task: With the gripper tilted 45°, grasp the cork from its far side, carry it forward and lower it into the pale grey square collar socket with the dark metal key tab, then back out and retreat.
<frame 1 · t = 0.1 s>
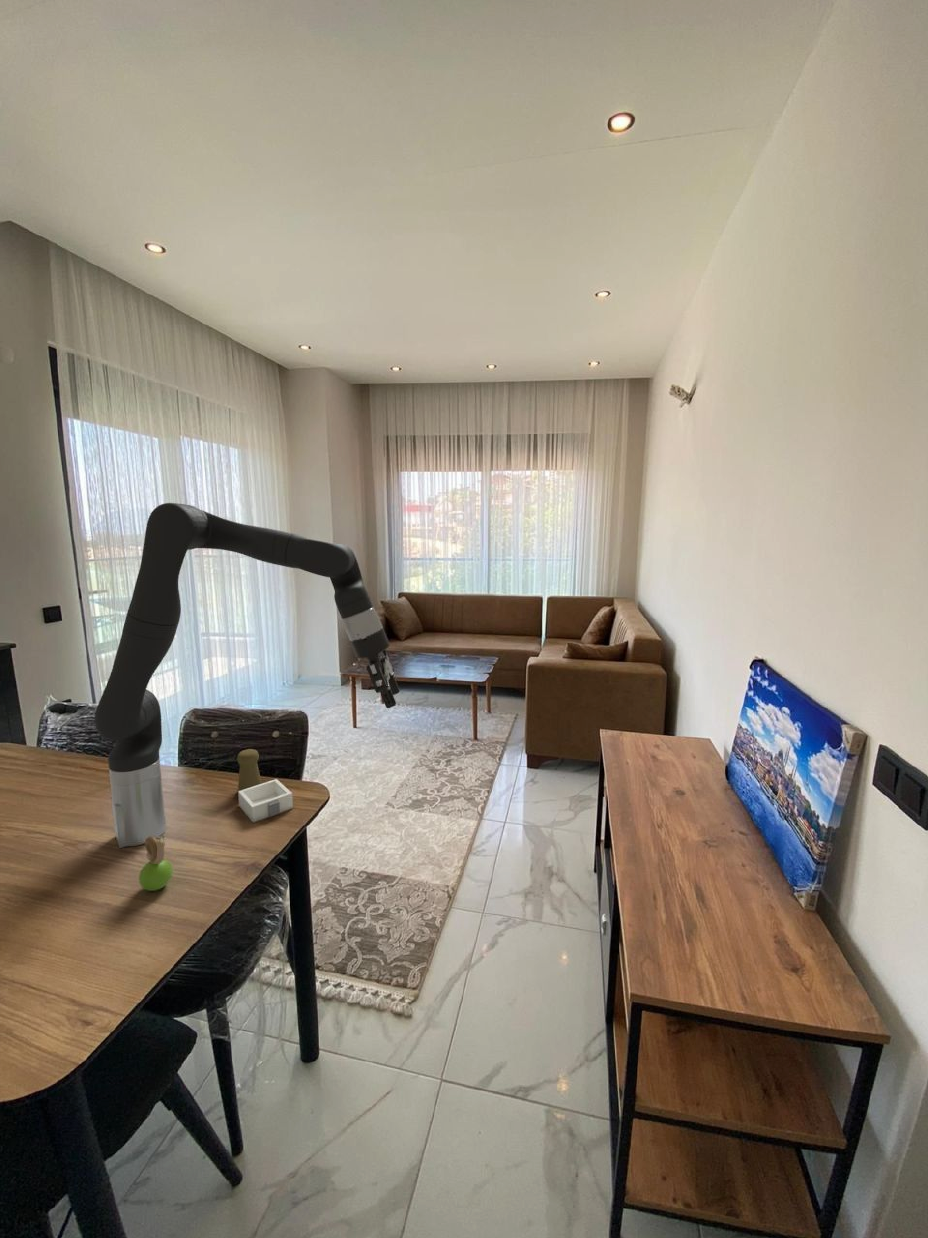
hand: (393, 700, 107), 31 cm above the table, tool tilted 20°, fingers open, 8 cm apart
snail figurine: (158, 889, 93), on the table
cork: (250, 791, 129), on the table
collar socket: (265, 807, 121), on the table
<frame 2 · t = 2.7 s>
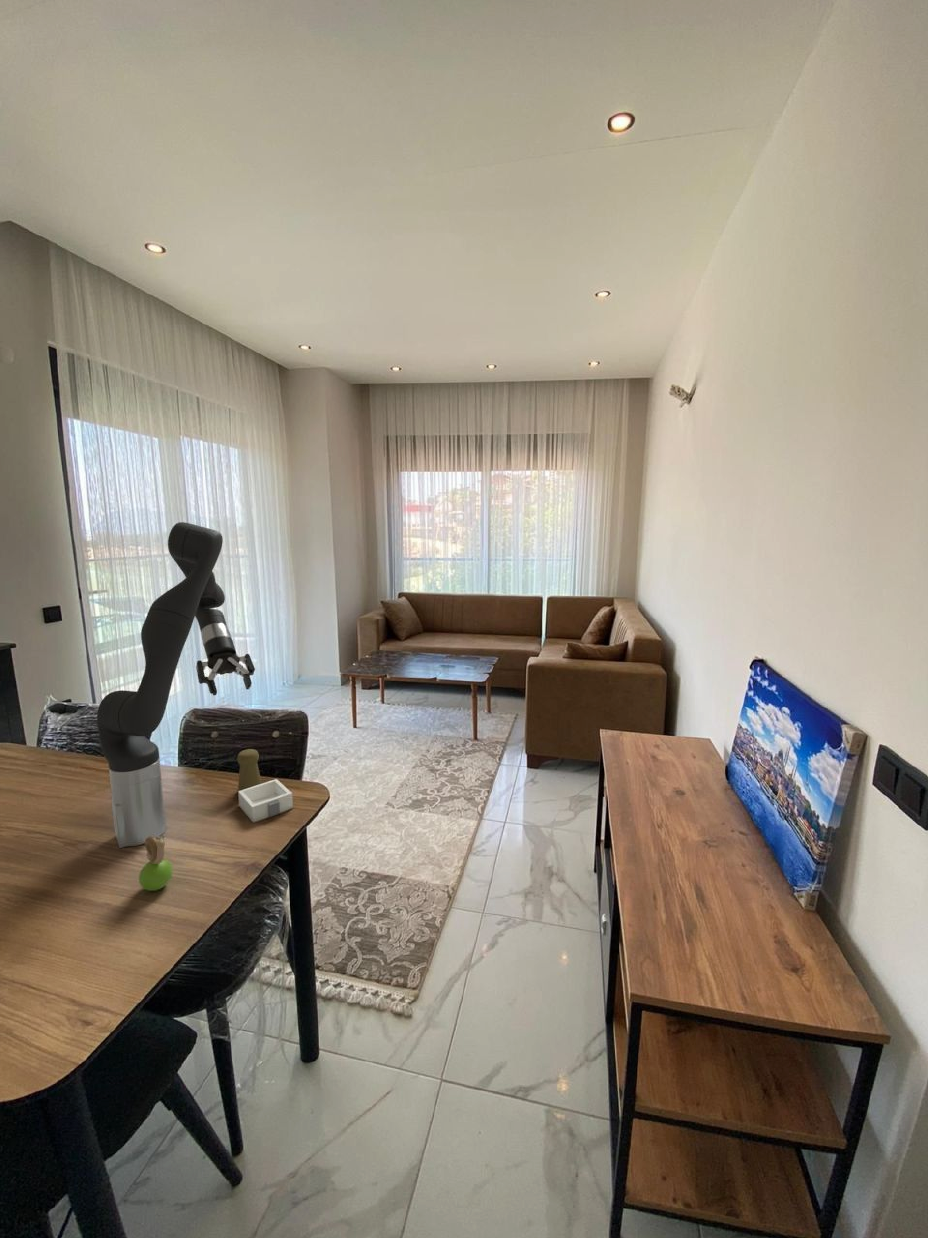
hand: (232, 690, 134), 25 cm above the table, tool tilted 45°, fingers open, 8 cm apart
nothing on the table moved.
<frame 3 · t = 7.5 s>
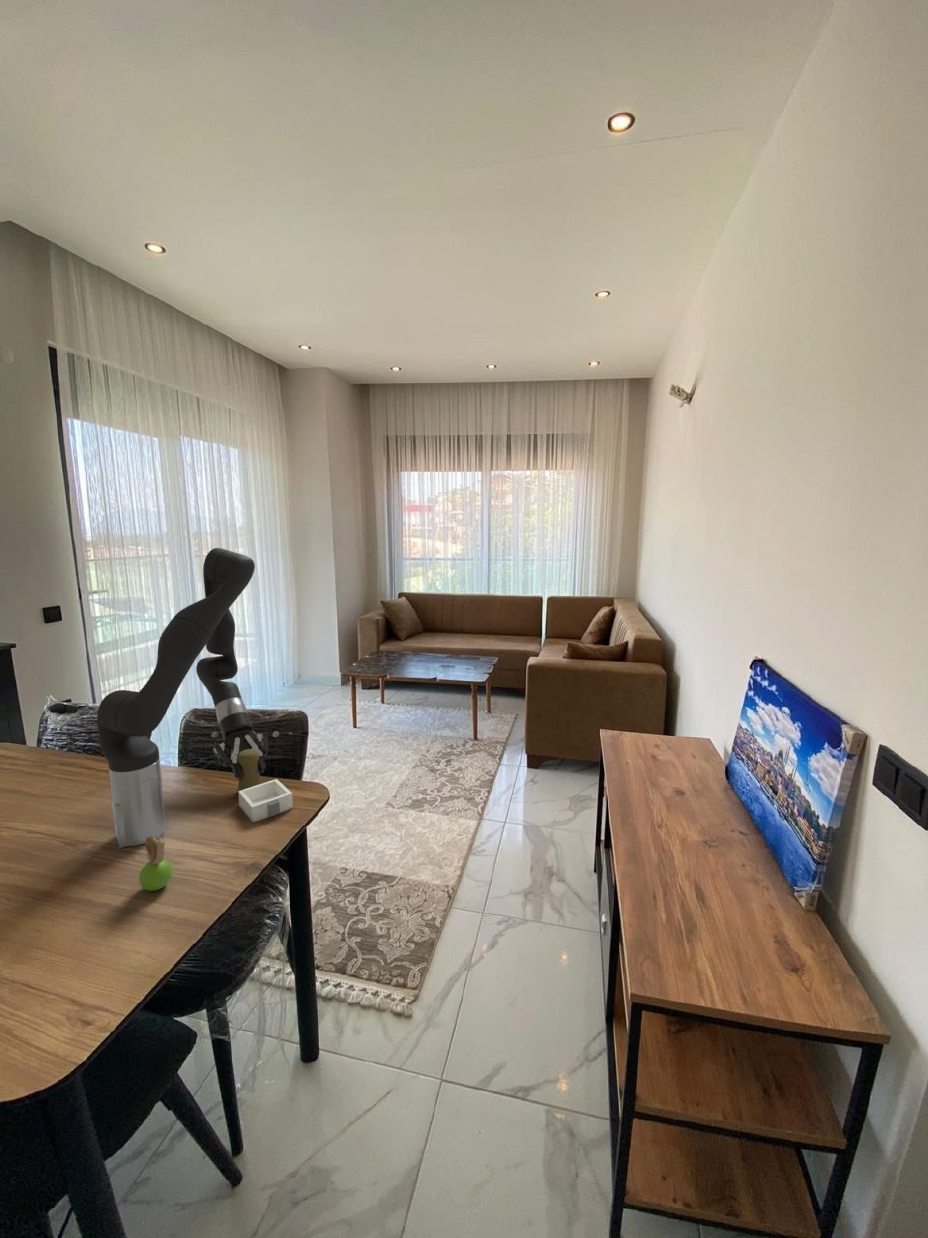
hand: (251, 774, 127), 5 cm above the table, tool tilted 45°, fingers closed on cork, 5 cm apart
cork: (250, 790, 129), on the table, touching gripper
everything else where it was.
when the fingers open (8 cm above the table, at t = 13.1 s): cork drops 2 cm, resting on collar socket.
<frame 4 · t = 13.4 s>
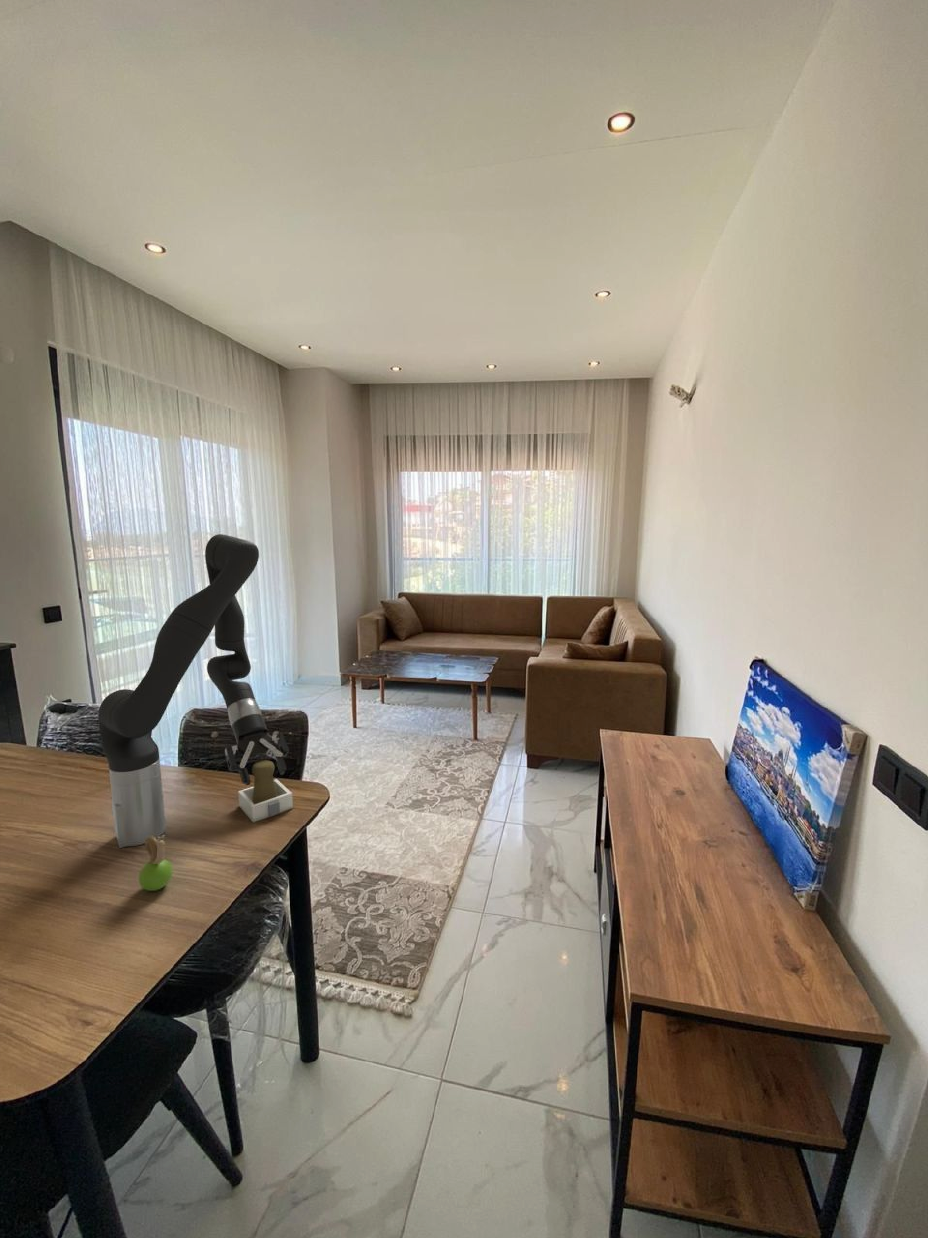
hand: (266, 778, 119), 8 cm above the table, tool tilted 45°, fingers open, 8 cm apart
cork: (265, 804, 121), resting on collar socket
everything else where it was.
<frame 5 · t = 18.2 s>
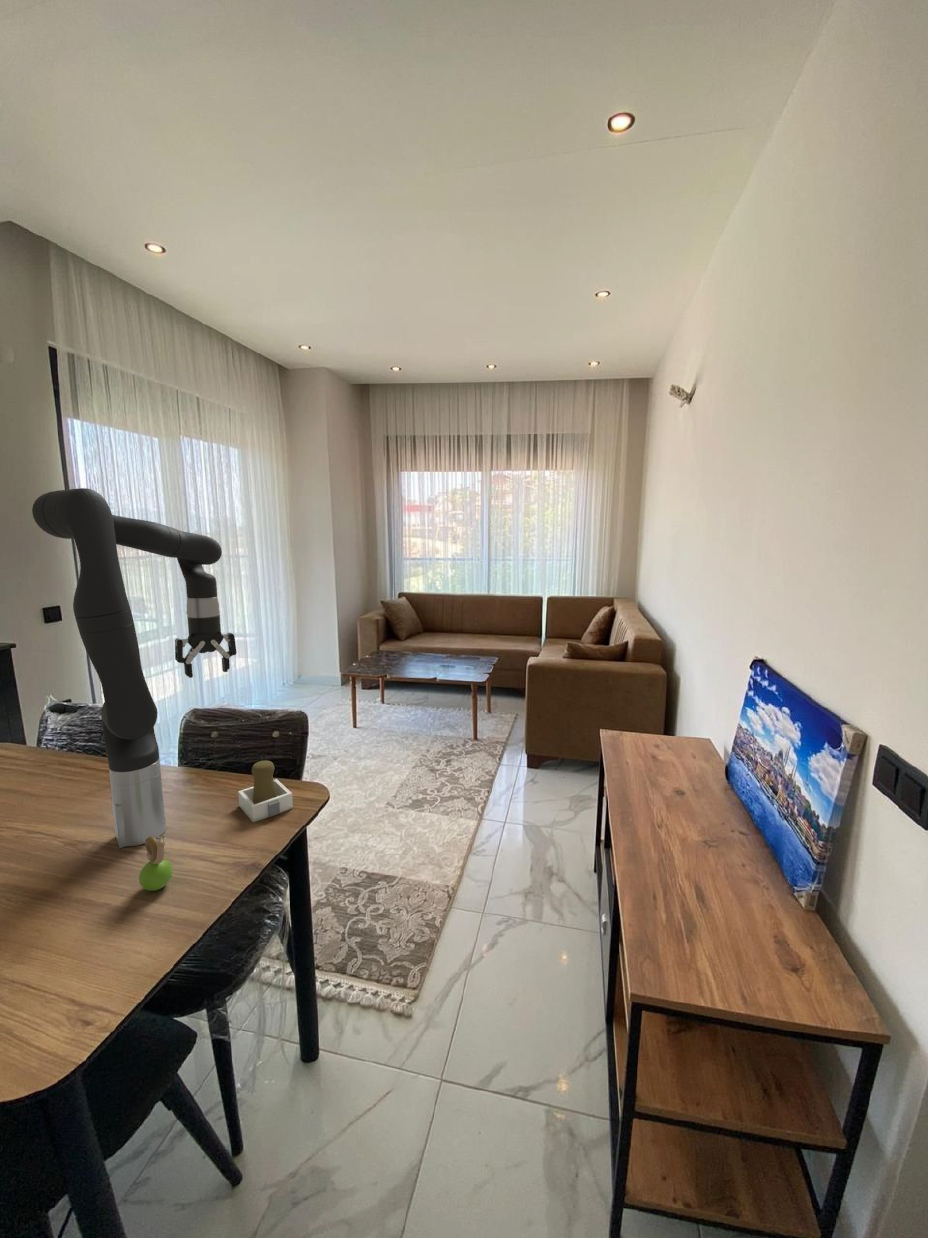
hand: (208, 674, 130), 30 cm above the table, tool pointing down, fingers open, 8 cm apart
nothing on the table moved.
at the end: cork 0.4 cm off-centre on the collar socket, point 0.4 cm above the collar socket's base; cork tilted 0°; the gripper is holding nothing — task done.
